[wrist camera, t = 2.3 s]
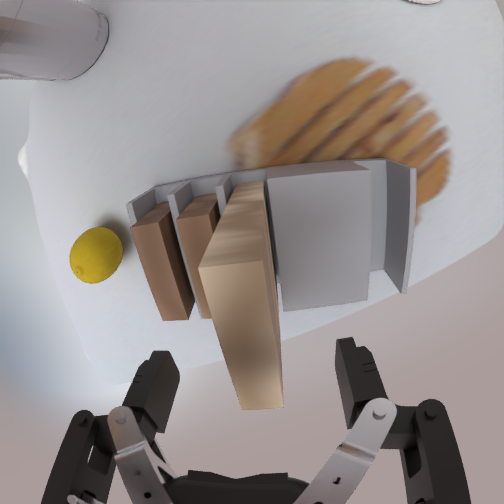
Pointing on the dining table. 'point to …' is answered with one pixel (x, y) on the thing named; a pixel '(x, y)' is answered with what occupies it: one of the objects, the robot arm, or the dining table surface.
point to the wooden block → (246, 297)
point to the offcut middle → (198, 239)
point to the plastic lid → (425, 1)
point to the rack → (318, 223)
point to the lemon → (96, 255)
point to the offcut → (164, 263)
